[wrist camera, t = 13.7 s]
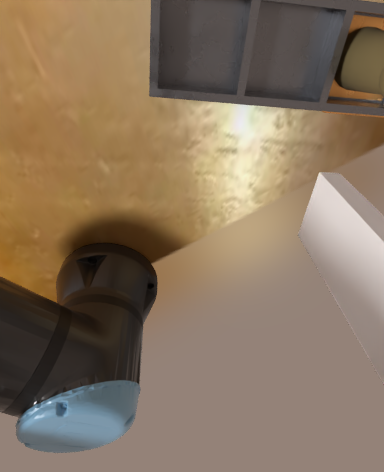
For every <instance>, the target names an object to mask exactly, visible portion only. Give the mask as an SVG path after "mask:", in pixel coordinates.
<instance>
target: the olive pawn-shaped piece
mask: <svg viewBox="0 0 384 472" xmlns="http://www.w3.org/2000/svg"><path fill="white" fill-rule="evenodd" d="M334 79H335V81H336V82H337V84H338V85H339V86H340V87H342V88H344V89H346V90H352V91H358V92H365V93H372V94H379V95H382V96H383V97H384V30H381V29H379V28H377V27H369V26H367V27H363V28H359V29H357V30H355V31H354V32H352V33H351V34H349V35H348V36H347V38H346V41H345V45H344V48H343V51H342V54H341V57H340V61H339V64H338V67H337V70H336V73H335V77H334Z"/></svg>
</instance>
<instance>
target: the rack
mask: <svg viewBox="0 0 384 472" xmlns="http://www.w3.org/2000/svg"><path fill="white" fill-rule="evenodd" d="M367 26H369V27H377V28H379V29H381V30H384V3H377V2H369V1H361V0H151V33H150V89H149V96H151V97H162V98H174V99H186V100H198V101H210V102H222V103H234V104H245V105H257V106H269V107H281V108H293V109H305V110H317V111H322V112H325V113H336V114H348V115H360V116H372V117H384V97H383V96H382V95H379V94H372V93H365V92H358V91H352V90H346V89H344V88H342V87H340V86H339V85H338V84H337V82H336V81H335V79H334V77H335V73H336V70H337V67H338V64H339V61H340V57H341V54H342V51H343V48H344V45H345V41H346V38H347V36H348V35H349V34H351V33H352V32H354V31H355V30H357V29H359V28H363V27H367Z"/></svg>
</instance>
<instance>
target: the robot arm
mask: <svg viewBox="0 0 384 472" xmlns="http://www.w3.org/2000/svg"><path fill="white" fill-rule="evenodd" d="M298 236H299V238H300V240H301V242H302V243H303V245H304V246H305V249H306V250H307V252H308V254H309V255H310V257H311V259H312V261H313V262H314V264H315V266H316V268H317V270H318V271H319V273H320V275H321V276H322V278H323V280H324V282H325V283H326V285H327V287H328V289H329V290H330V292H331V294H332V296H333V297H334V299H335V301H336V303H337V304H338V306H339V308H340V310H341V311H342V313H343V315H344V317H345V318H346V320H347V322H348V323H349V325H350V327H351V329H352V330H353V332H354V334H355V336H356V338H357V339H358V341H359V343H360V345H361V346H362V348H363V350H364V352H365V353H366V355H367V357H368V359H369V360H370V362H371V364H372V366H373V367H374V369H375V371H376V373H377V374H378V376H379V378H380V380H381V381H382V383H383V385H384V216H383V215H382V214H381V213H380V212H379V211H378V210H377V209H376V208H375V207H374V206H373V205H372V204H371V203H370V202H369V201H368V200H367V199H366V198H365V197H364V196H363V195H362V194H361V193H360V192H359V191H357V190H356V189H355V188H354V187H353V186H352V185H351V184H350V183H349V182H348V181H347V180H346V179H345V178H344V177H343V176H342V175H341V174H340V173H326V172H319V175H318V178H317V181H316V184H315V187H314V190H313V193H312V196H311V199H310V202H309V204H308V207H307V210H306V213H305V216H304V219H303V222H302V225H301V228H300V231H299V234H298ZM56 290H57V303H56V302H53V301H51V300H49V299H47V298H45V297H43V296H41V295H38V294H36V293H34V292H32V291H30V290H28V289H26V288H24V287H22V286H19V285H17V284H15V283H13V282H11V281H9V280H7V279H5V278H3V277H0V412H2V413H5V414H9V415H12V416H16V417H18V418H19V419H18V421H17V424H16V435H17V438H18V440H19V441H20V442H21V443H24V444H25V446H26V447H29V448H31V449H34V450H38V451H44V452H54V453H64V452H65V453H67V452H78V451H84V450H89V449H94V448H98V447H101V446H104V445H106V444H109V443H111V442H113V441H115V440H117V439H118V438H120V437H121V436H123V435H124V434H125V433H126V432H127V431H128V430H129V429H130V427H131V426H132V424H133V422H134V419H135V415H136V409H137V403H138V396H139V394H140V385H139V381H140V366H141V350H142V335H143V324H144V322H145V319H146V318H147V316H148V314H149V312H150V310H151V308H152V305H153V304H154V301H155V299H156V295H157V275H156V272H155V270H154V268H153V266H152V265H151V263H150V262H149V261H148V260H147V259H146V258H145V257H144V256H143V255H141V254H140V253H138V252H136V251H135V250H133V249H130V248H128V247H125V246H121V245H117V244H109V243H100V244H92V245H88V246H85V247H82V248H80V249H78V250H76V251H74V252H73V253H71V254H70V255H69V256H68V257H67V258H66V259H65V261H64V262H63V264H62V266H61V269H60V271H59V274H58V277H57V282H56Z"/></svg>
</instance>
